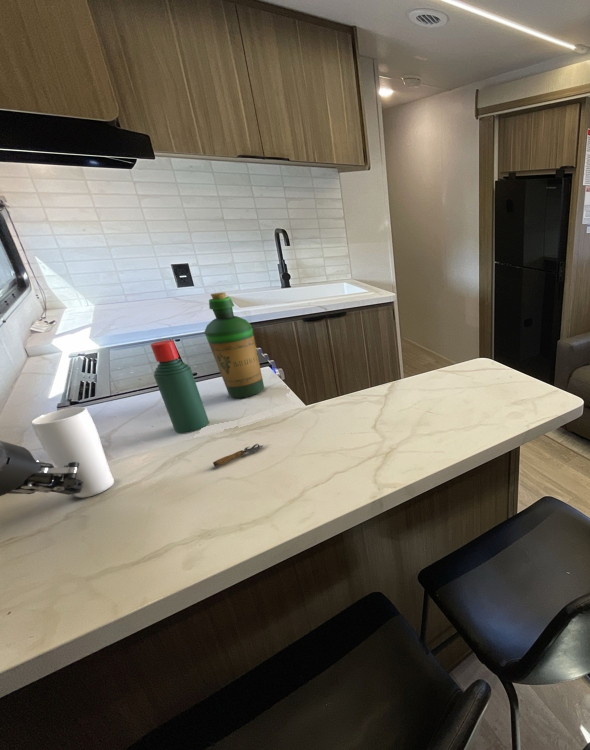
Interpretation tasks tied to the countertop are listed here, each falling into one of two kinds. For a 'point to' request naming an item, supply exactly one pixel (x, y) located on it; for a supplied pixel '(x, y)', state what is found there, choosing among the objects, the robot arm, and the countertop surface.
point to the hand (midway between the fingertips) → (76, 487)
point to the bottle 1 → (181, 396)
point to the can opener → (235, 455)
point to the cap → (164, 350)
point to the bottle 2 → (234, 349)
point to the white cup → (75, 447)
